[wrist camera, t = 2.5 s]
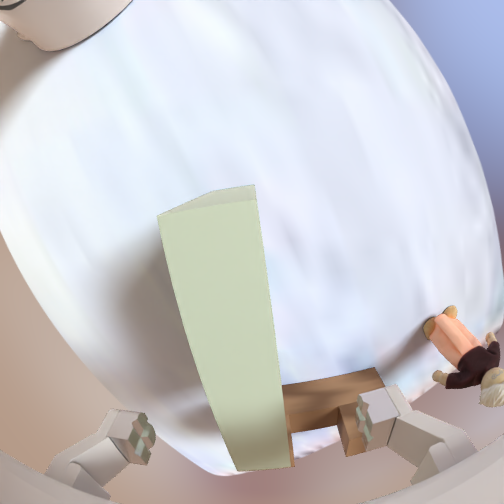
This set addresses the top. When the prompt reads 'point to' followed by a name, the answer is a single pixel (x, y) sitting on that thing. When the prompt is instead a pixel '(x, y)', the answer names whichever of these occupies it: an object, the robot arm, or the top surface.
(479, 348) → the grandmother figurine
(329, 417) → the wooden u-shaped block
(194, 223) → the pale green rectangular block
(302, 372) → the top surface
